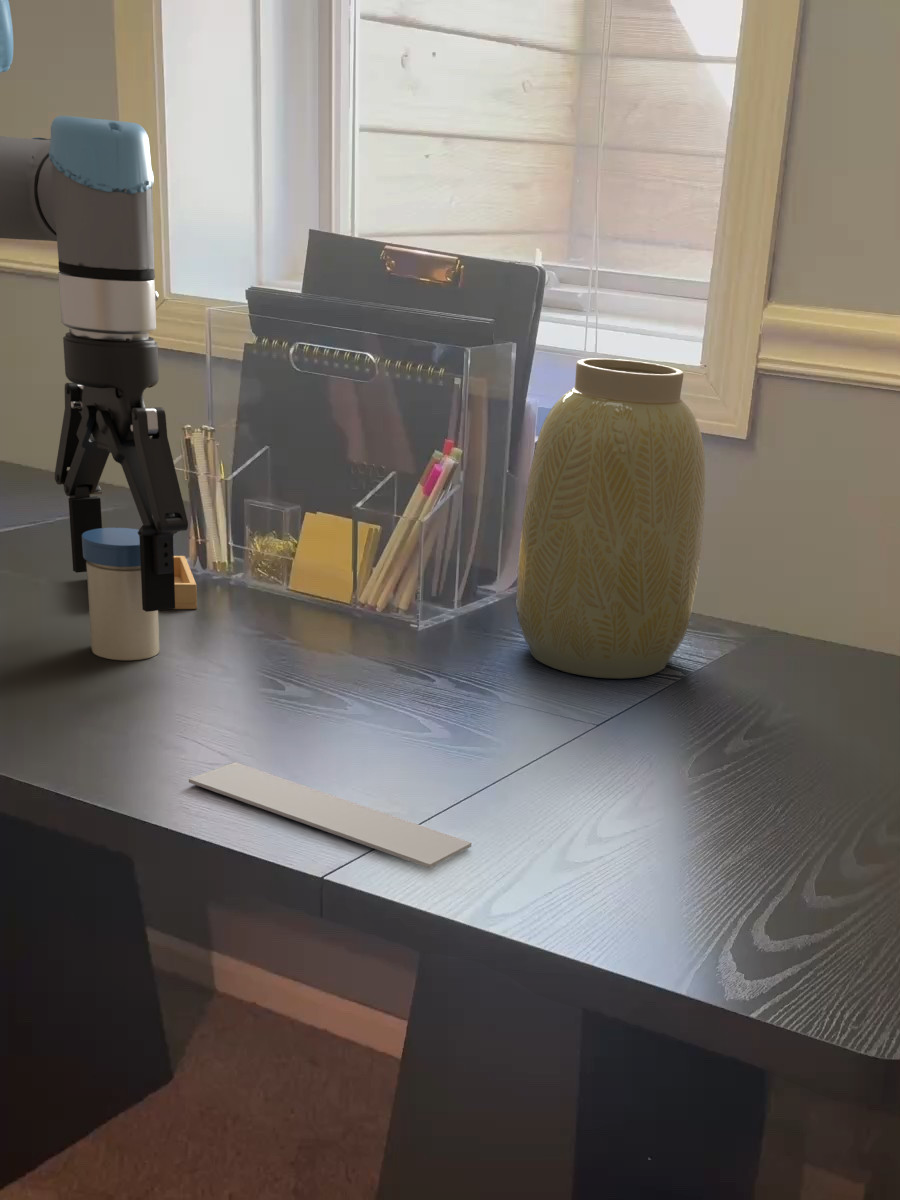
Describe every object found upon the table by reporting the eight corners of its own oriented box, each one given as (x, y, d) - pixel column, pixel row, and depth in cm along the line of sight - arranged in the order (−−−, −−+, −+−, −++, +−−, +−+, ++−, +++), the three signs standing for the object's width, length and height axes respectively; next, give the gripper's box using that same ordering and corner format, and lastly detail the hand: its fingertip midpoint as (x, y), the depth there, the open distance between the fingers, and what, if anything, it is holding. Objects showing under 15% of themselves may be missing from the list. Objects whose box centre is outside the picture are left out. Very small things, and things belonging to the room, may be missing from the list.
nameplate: (235, 766, 111) (188, 783, 107) (235, 762, 111) (188, 778, 107) (471, 847, 102) (429, 869, 98) (471, 842, 102) (430, 864, 98)
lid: (174, 560, 130) (174, 539, 129) (114, 570, 125) (112, 549, 125) (128, 545, 133) (127, 524, 133) (67, 554, 129) (66, 532, 128)
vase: (568, 693, 134) (600, 380, 121) (479, 638, 146) (500, 349, 133) (719, 678, 142) (764, 383, 129) (622, 627, 155) (655, 354, 142)
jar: (77, 648, 133) (70, 541, 128) (131, 636, 137) (126, 533, 133) (119, 664, 130) (114, 556, 125) (173, 652, 134) (170, 547, 129)
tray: (90, 578, 153) (89, 554, 152) (185, 579, 156) (185, 555, 155) (96, 609, 144) (95, 583, 143) (197, 609, 147) (196, 584, 146)
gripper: (227, 355, 115) (230, 621, 125) (86, 313, 131) (99, 552, 141) (138, 356, 110) (150, 631, 121) (3, 312, 126) (23, 559, 137)
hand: (122, 589), depth 131 cm, fingers open, 13 cm apart
